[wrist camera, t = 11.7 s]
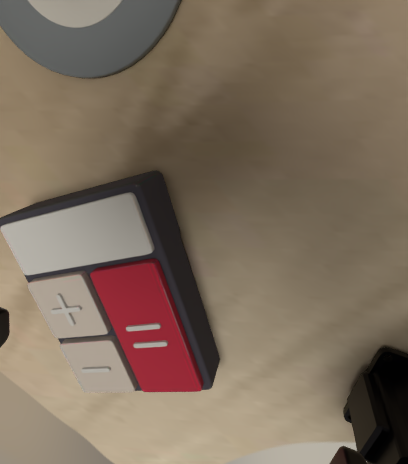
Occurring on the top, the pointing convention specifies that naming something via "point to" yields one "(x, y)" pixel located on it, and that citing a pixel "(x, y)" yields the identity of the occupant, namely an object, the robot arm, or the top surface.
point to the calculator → (116, 287)
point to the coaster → (86, 32)
